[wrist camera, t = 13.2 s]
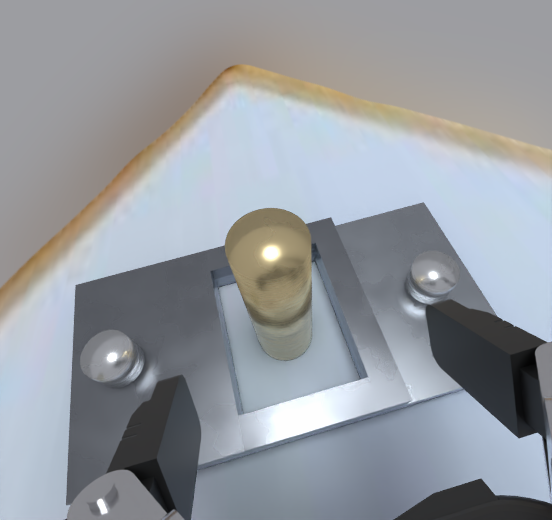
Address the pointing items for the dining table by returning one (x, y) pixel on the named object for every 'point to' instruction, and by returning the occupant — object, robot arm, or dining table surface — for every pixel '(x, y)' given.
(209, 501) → the dining table surface
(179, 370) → the chain end upper
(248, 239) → the pin
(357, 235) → the chain end lower
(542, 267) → the dining table surface
